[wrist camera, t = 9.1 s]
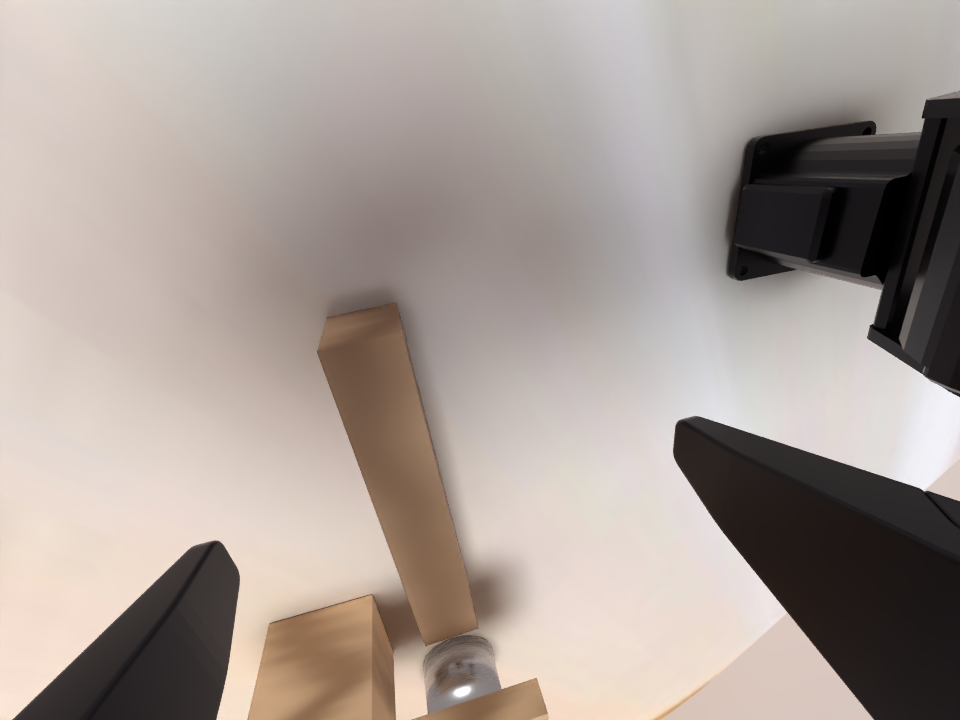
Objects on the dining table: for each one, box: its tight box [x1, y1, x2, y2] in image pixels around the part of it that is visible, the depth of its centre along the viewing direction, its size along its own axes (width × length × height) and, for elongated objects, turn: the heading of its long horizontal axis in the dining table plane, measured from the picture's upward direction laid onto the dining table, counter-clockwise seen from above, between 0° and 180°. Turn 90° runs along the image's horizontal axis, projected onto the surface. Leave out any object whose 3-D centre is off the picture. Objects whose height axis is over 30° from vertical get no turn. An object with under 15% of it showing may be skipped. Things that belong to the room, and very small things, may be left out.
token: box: [423, 636, 502, 714], centre depth 29 cm, size 5×5×3 cm
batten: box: [317, 303, 478, 646], centre depth 21 cm, size 3×18×4 cm, turn 8°
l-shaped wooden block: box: [247, 595, 548, 720], centre depth 23 cm, size 14×6×10 cm, turn 96°
